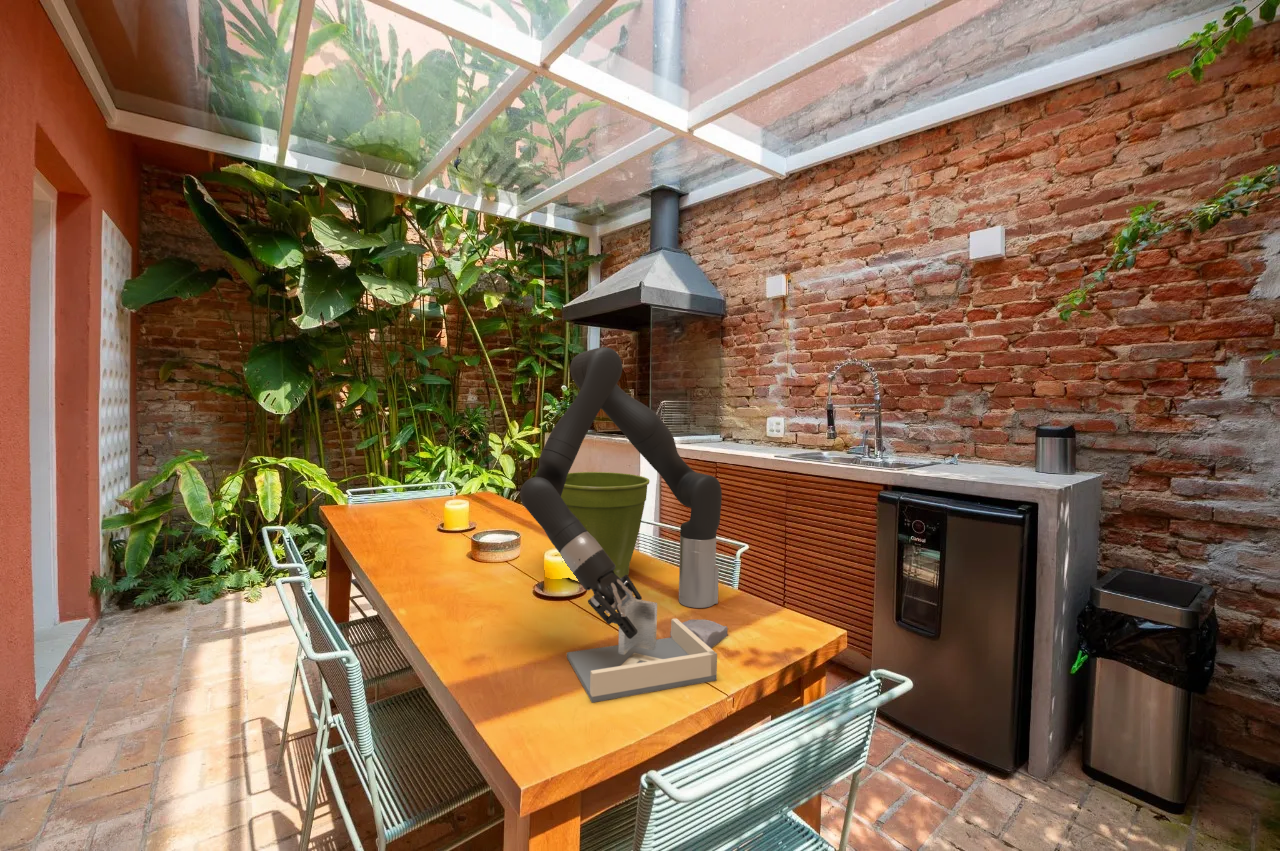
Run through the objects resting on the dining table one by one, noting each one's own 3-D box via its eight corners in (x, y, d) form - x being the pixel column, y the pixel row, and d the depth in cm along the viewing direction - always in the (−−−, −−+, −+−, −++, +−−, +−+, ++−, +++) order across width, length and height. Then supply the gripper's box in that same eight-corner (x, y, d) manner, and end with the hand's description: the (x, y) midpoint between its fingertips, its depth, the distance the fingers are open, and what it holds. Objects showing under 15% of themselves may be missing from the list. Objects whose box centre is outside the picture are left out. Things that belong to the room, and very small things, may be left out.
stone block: (665, 649, 121) (708, 653, 116) (664, 626, 122) (706, 629, 117) (690, 639, 131) (731, 642, 126) (689, 617, 132) (729, 619, 127)
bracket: (630, 642, 113) (631, 598, 113) (656, 648, 111) (657, 602, 111) (618, 653, 108) (619, 607, 108) (644, 659, 106) (645, 612, 106)
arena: (676, 641, 122) (676, 618, 122) (716, 680, 106) (717, 653, 105) (566, 657, 114) (567, 632, 114) (592, 702, 97) (592, 673, 97)
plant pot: (524, 575, 165) (525, 477, 164) (596, 555, 188) (598, 469, 187) (597, 600, 146) (598, 489, 145) (668, 575, 169) (670, 479, 167)
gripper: (581, 557, 106) (638, 632, 101) (615, 540, 119) (667, 606, 115) (556, 581, 108) (611, 655, 104) (592, 562, 121) (642, 627, 117)
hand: (640, 629), depth 109 cm, fingers closed on bracket, 5 cm apart
